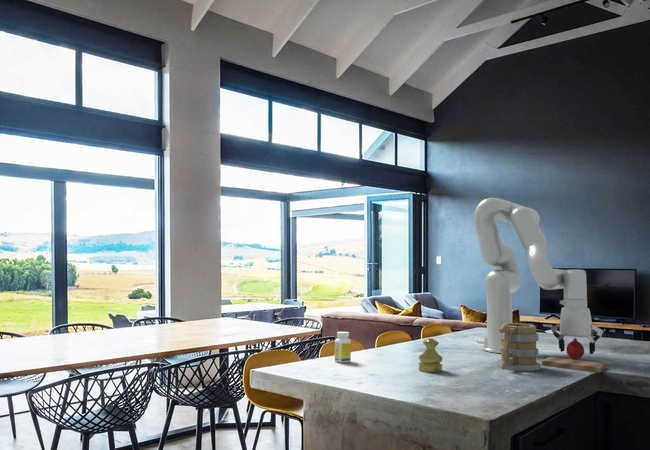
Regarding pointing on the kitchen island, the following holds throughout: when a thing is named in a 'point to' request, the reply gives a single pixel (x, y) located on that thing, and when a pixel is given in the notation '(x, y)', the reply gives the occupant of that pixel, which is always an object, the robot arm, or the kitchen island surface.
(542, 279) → the robot arm
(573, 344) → the red round fruit
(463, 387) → the kitchen island surface
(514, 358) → the tankard
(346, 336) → the supplement bottle
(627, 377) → the kitchen island surface
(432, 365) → the olive chess piece
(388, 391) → the kitchen island surface
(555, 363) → the cutting board
